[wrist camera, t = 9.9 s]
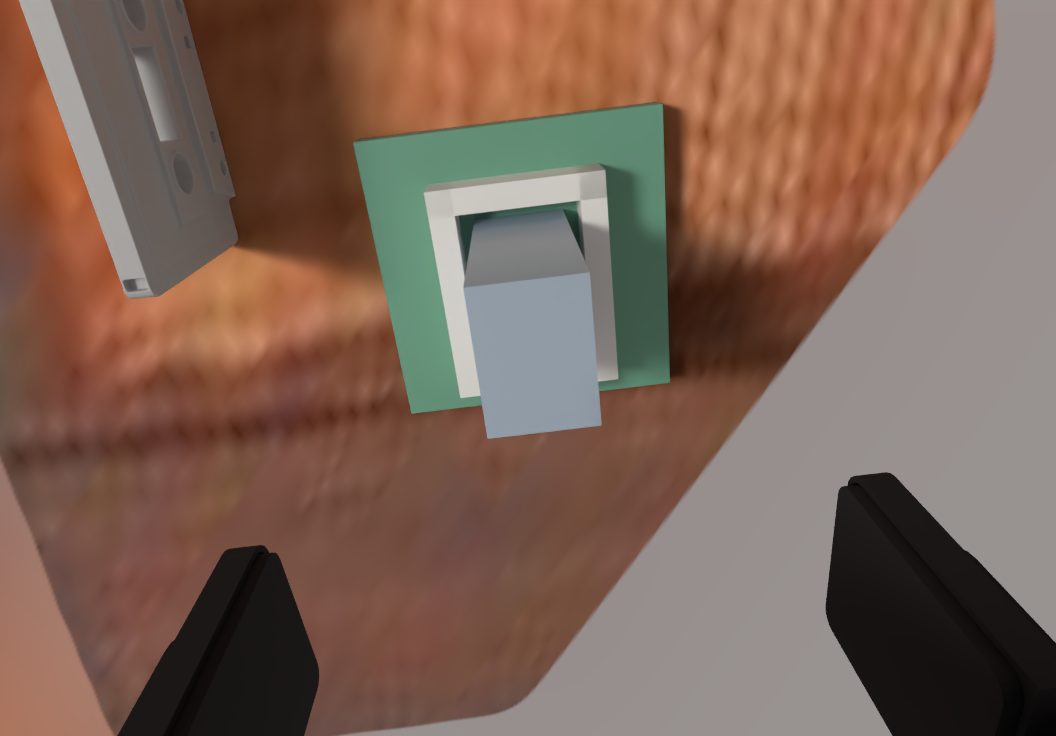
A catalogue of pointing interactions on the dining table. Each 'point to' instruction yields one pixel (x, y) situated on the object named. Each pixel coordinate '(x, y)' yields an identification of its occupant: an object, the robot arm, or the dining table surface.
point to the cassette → (139, 133)
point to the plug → (531, 325)
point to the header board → (514, 188)
